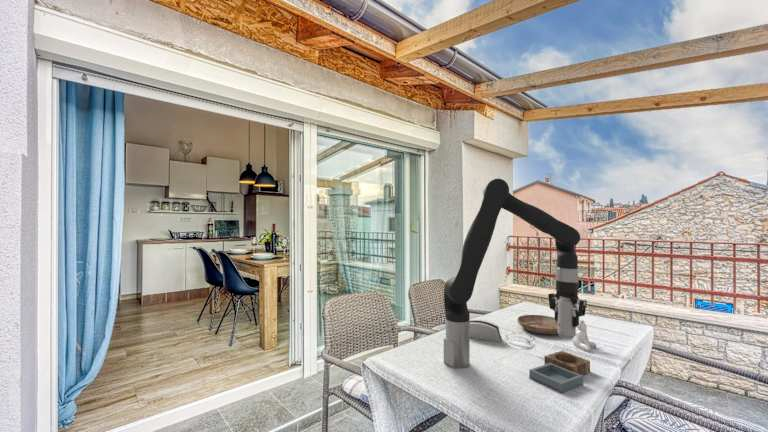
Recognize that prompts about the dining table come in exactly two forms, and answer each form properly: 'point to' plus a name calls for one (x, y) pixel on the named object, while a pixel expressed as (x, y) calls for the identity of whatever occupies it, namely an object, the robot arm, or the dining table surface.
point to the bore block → (568, 362)
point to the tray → (556, 377)
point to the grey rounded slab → (485, 330)
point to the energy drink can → (565, 318)
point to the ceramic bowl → (539, 324)
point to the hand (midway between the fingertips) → (566, 323)
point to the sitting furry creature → (582, 338)
